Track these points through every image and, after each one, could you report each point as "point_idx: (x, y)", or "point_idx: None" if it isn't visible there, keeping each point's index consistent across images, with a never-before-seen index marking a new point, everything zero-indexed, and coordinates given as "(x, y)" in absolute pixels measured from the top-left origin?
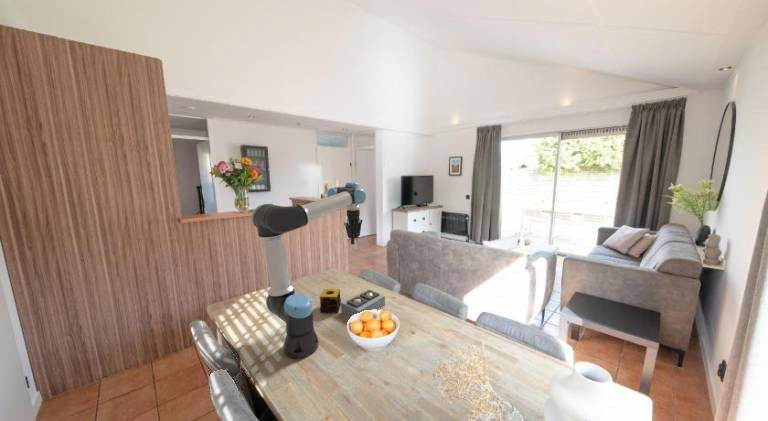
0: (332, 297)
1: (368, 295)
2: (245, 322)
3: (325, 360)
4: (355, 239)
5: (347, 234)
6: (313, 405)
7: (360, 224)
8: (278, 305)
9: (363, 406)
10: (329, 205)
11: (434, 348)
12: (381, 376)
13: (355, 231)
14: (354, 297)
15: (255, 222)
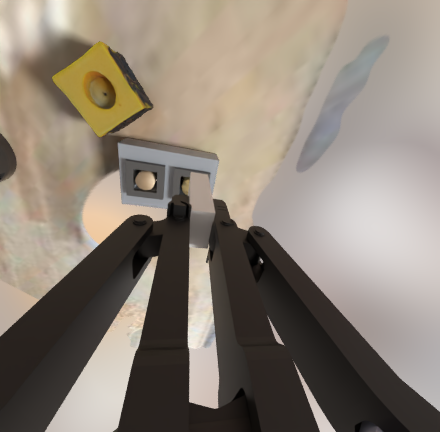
0: (89, 123)
1: (182, 190)
2: None
3: (8, 209)
4: (194, 242)
5: (104, 245)
6: None
7: (328, 399)
8: None
9: (17, 281)
10: None
11: (150, 292)
12: (64, 275)
13: (214, 298)
14: (153, 165)
15: None
